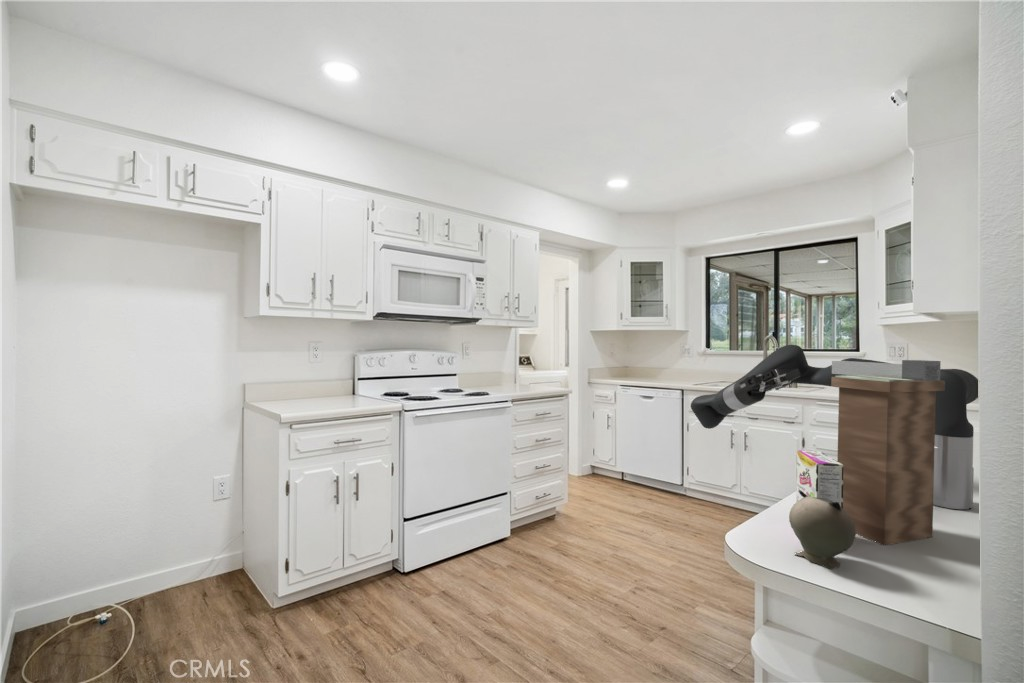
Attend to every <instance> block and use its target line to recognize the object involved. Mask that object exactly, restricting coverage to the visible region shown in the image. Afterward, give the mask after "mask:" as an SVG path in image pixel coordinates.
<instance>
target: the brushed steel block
mask: <svg viewBox="0 0 1024 683" xmlns="http://www.w3.org/2000/svg"><path fill="white" fill-rule="evenodd" d="M890 363H891V362H886V363H872V362H853V361H841V360H831V365H832V374H842V375H861V376H874V377H886V378H899V379H911V380H914V381H940V369H941V363H942V362H941V360H928V359H927V360H925V359H923V360H921V359H902V361H901V363H892V364H890Z"/></svg>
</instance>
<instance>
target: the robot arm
mask: <svg viewBox="0 0 1024 683" xmlns="http://www.w3.org/2000/svg"><path fill="white" fill-rule="evenodd" d="M840 361H853V362H872V363H887V362H885V361H880V360H874V359H873V360H872V359H867V358H866V359H864V358H857V357H856V358H853V357H849V358H844V359H842V360H840ZM889 363H890V364H893V363H891V362H889ZM835 376H848V375H842V374H832V364H831V365H829V366H826V367H816V366H812V365H809V364H808V360H807V358H806V355H805V352H804V350H803V349H802V347H801V346H799V345H797V344H787V345H782V346H781V347H779V348H776V349H775V350H774V351H772V352H771V353H770V354H768V356H766V357H765V358H764V359H762V361H760V362H759V363H758V364H757V365H756V366H754V367H753V368H752V369H751V370H750V371H749V372H747V373H746V374H745V375H743V376H741V378H738V379H737V380H736V381H734V382H732V383H731V384H729V385H727V386H726V387H724V388H722V389H720V390H719V391H718V392H716V393H712V394H703V395H699V396H696V397H695V398H693V399H692V401H691V402H690V409H691V411H692V412H693V414H694V415H695V417H696V419H697V420H698V422H700V424H701V426H702V427H703V428H705V429H713V428H716V427H717V426H719V425H720V424H721V423H722V422H723V421H724V420H725V418H726V417H727V416H728V415H730V414H732V413H734V412H736V411H738V410H739V411H740V410H742V409H745V408H747V407H750V406H753V405H755V404H757V403H759V402H761V401H763V400H764V398H765V396H766V393H768V392H771V391H772V390H775V391H779V390H780V389H782V388H786V387H787V386H790V385H793V384H801V385H802V384H803V385H817V386H826V387H834V386H831V377H835ZM940 380H941V381H945V391H936V406H935V448H934V489H933V506H937V507H942V508H946V509H952V510H953V509H955V510H970V509H969V508H971V507H972V506H973V505H974V475H975V474H974V473H975V472H974V471H975V470H974V469H975V468H974V466H973V464H974V430H975V429H974V425H973V424H972V423H970V421H969V419H968V416H967V413H968V412H967V405H968V404H970V403H973V402H975V401H976V400H977V399H979V397H978V380H979V379H978V378H977V377H976V376H975V375H974V374H972V373H970V372H969V371H966V370H963V369H961V368H960V369H959V368H940ZM834 388H835V387H834ZM972 504H973V505H972ZM971 509H972V508H971Z"/></svg>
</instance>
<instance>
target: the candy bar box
mask: <svg viewBox="0 0 1024 683" xmlns="http://www.w3.org/2000/svg"><path fill="white" fill-rule="evenodd" d="M843 466H844V465H843V464H841V463H839V462H837V460H835V459H834V458H832V457H830V456H828V455H827V454H825V453H824V452H822V451H818V450H817V451H816V450H802V449H801V450H800V449H799V450H796V502H798V501H799V500H801V499H802V498H804V497H803V496H801V494H800V493H799V490H800V491H802V492H803V493H804V494H805V495H806V496H810V497H815V498H825V499H829V500H831V501H833V502H835V503H836V502H838V503H839V505H840V506H841V508H842V509H843Z"/></svg>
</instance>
